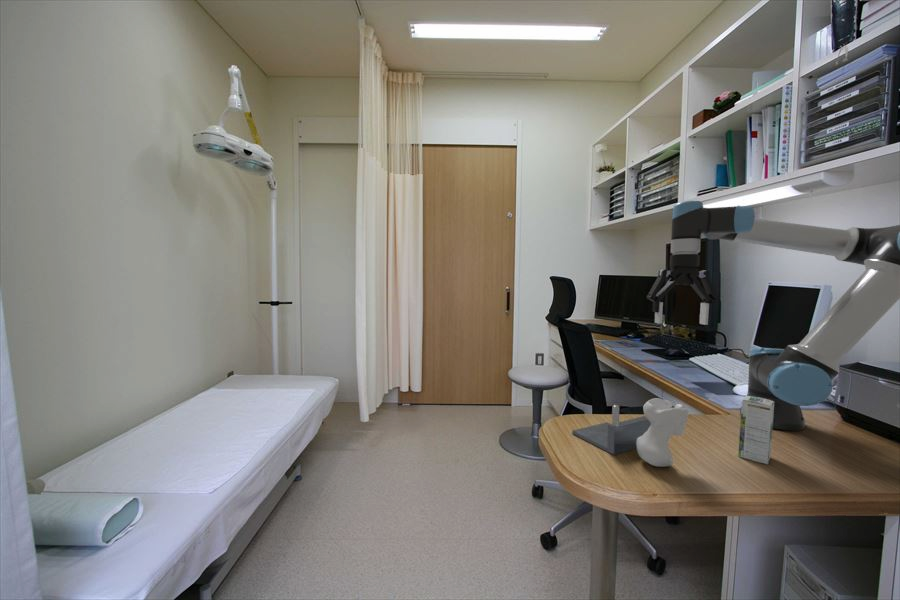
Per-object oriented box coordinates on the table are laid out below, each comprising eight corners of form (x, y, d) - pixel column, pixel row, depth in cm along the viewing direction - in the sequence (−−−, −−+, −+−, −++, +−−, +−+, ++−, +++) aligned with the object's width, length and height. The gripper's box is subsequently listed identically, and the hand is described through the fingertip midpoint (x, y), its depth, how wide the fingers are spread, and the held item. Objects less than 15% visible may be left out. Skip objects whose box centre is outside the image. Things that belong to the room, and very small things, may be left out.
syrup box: (741, 449, 93) (743, 394, 93) (771, 457, 89) (774, 400, 89) (738, 457, 89) (740, 399, 89) (769, 465, 85) (772, 405, 85)
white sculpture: (628, 455, 90) (629, 396, 89) (671, 454, 91) (673, 395, 90) (652, 476, 80) (654, 410, 80) (700, 474, 81) (703, 409, 80)
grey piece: (607, 425, 109) (608, 386, 108) (650, 444, 96) (651, 400, 96) (572, 433, 103) (573, 392, 102) (613, 455, 90) (615, 408, 90)
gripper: (718, 255, 112) (714, 323, 114) (636, 254, 113) (633, 321, 115) (736, 253, 105) (731, 326, 106) (649, 252, 106) (645, 324, 107)
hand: (680, 323), depth 110 cm, fingers open, 13 cm apart
